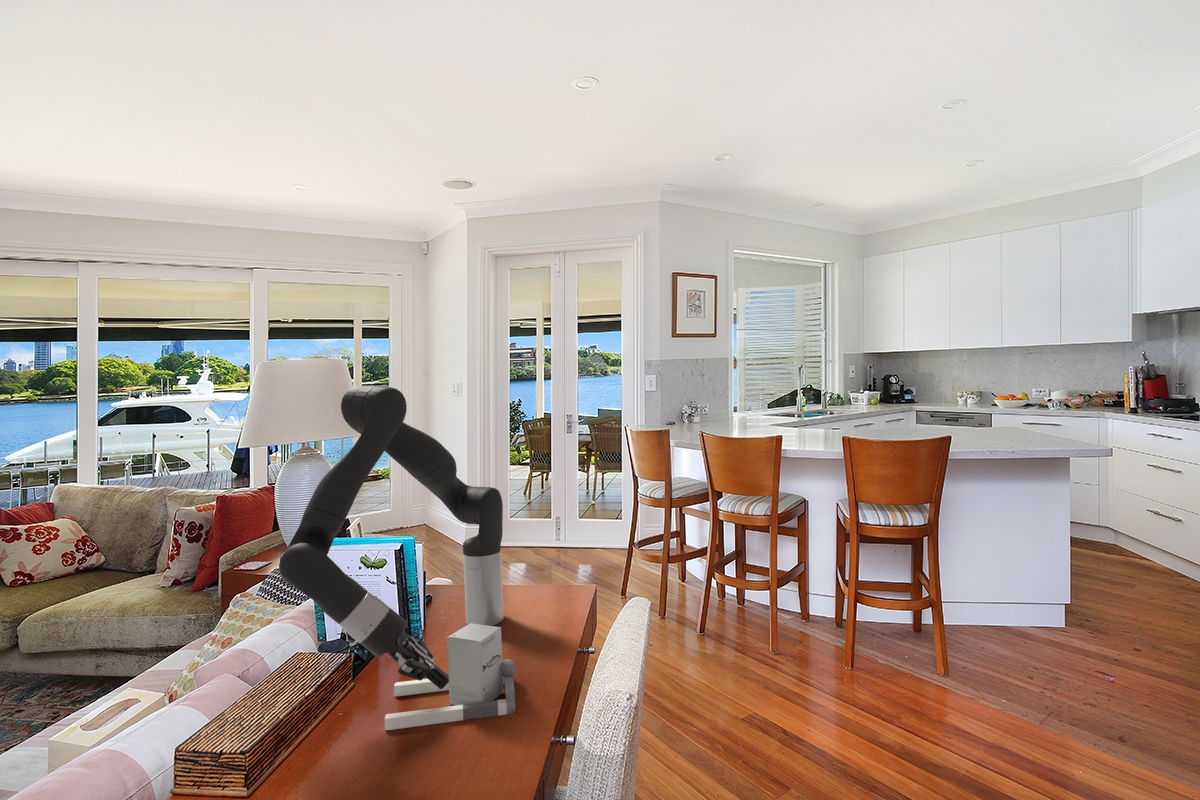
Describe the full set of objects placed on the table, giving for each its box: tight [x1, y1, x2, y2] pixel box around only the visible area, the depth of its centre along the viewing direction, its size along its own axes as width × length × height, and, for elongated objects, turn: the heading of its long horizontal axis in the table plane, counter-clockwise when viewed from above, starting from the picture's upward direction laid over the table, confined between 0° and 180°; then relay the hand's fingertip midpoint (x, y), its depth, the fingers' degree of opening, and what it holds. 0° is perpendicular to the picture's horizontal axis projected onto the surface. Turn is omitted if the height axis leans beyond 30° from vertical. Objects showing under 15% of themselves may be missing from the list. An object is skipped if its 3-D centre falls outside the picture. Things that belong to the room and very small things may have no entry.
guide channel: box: [384, 658, 516, 731], centre depth 116 cm, size 14×22×6 cm, turn 101°
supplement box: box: [446, 623, 504, 706], centre depth 117 cm, size 7×7×13 cm
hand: (445, 683), depth 115 cm, fingers closed
